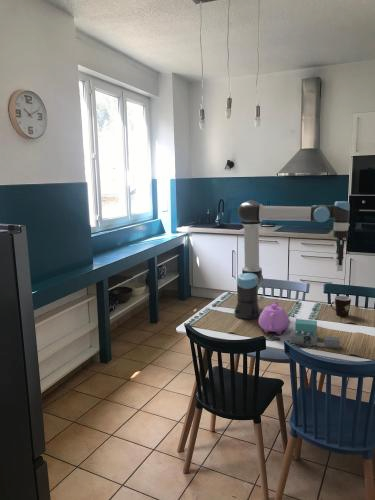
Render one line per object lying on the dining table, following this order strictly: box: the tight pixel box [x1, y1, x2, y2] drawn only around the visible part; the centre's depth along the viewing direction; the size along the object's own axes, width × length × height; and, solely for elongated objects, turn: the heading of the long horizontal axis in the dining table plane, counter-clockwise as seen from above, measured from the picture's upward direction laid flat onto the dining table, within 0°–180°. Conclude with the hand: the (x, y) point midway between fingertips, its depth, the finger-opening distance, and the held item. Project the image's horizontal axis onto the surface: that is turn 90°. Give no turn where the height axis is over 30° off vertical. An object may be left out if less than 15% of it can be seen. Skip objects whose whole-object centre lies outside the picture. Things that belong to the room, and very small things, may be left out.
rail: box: [289, 332, 341, 350], centre depth 181 cm, size 22×4×4 cm, turn 71°
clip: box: [294, 318, 318, 339], centre depth 190 cm, size 10×6×8 cm, turn 71°
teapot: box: [258, 298, 290, 335], centre depth 200 cm, size 22×16×14 cm
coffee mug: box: [330, 295, 352, 318], centre depth 218 cm, size 12×9×10 cm
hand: (339, 268), depth 214 cm, fingers open, 13 cm apart
